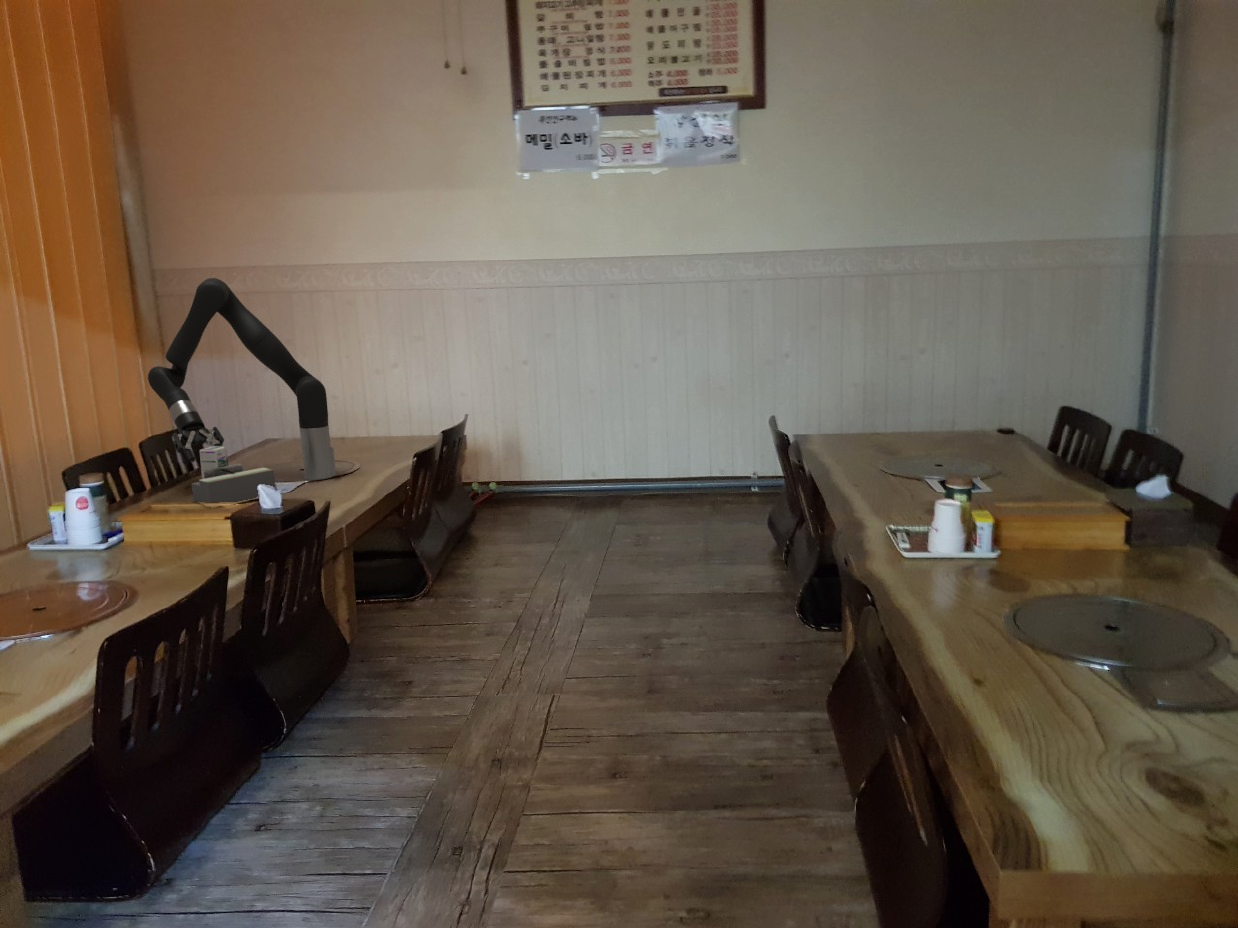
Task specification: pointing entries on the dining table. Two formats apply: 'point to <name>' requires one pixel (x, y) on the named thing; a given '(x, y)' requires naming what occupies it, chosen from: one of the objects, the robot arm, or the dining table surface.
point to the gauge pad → (221, 471)
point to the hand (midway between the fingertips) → (207, 458)
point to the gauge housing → (232, 486)
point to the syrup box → (213, 457)
